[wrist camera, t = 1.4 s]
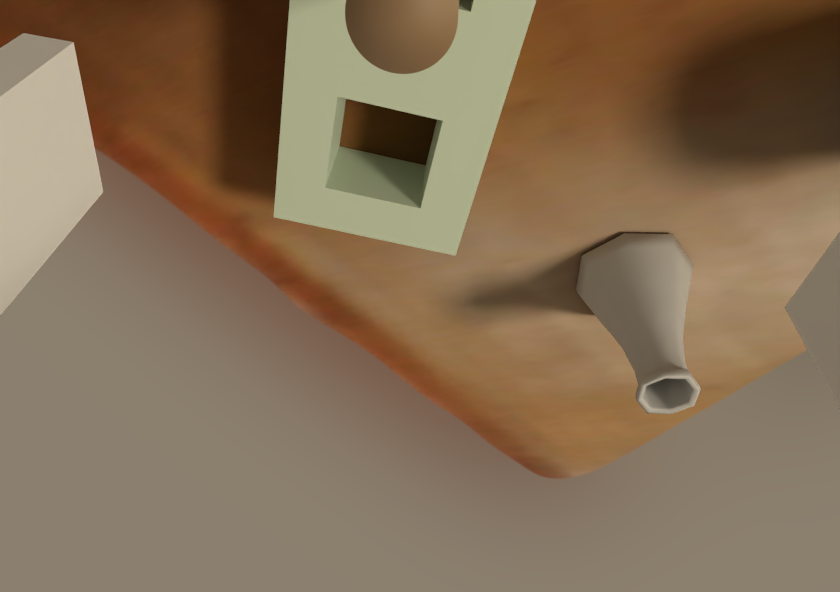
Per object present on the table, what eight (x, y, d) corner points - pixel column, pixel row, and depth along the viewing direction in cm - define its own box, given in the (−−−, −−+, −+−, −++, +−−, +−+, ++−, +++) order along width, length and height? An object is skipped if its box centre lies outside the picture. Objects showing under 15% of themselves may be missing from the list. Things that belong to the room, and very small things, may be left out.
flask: (686, 215, 38) (740, 333, 30) (696, 303, 42) (745, 426, 34) (563, 245, 40) (585, 362, 32) (585, 326, 44) (608, 447, 36)
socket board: (333, -271, 25) (310, -274, 21) (581, -202, 25) (597, -193, 22) (292, 174, 38) (273, 216, 34) (457, 210, 38) (455, 255, 35)
